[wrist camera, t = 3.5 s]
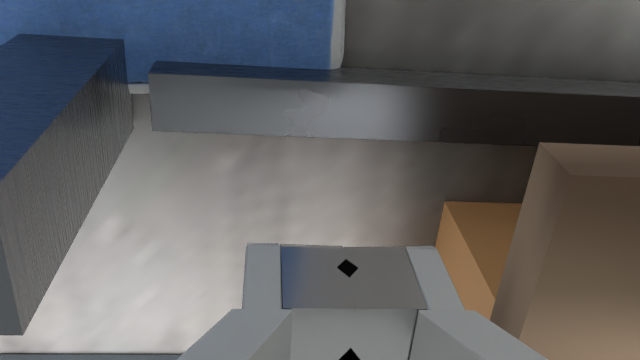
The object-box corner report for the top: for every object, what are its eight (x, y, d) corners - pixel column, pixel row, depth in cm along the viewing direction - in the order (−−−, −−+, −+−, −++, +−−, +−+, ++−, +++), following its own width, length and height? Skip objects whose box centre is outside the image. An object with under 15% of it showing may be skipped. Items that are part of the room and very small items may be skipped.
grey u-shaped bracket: (23, 30, 14) (-215, 187, 7) (735, 70, 16) (1087, 223, 9) (80, 371, 20) (-25, 646, 13) (607, 370, 22) (766, 610, 15)
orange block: (443, 200, 18) (498, 306, 14) (594, 204, 19) (693, 308, 14) (418, 321, 20) (459, 444, 16) (553, 322, 21) (627, 442, 17)
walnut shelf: (441, 41, 16) (570, 174, 9) (796, 62, 17) (1154, 195, 10) (381, 384, 22) (430, 617, 15) (643, 383, 23) (799, 601, 16)
